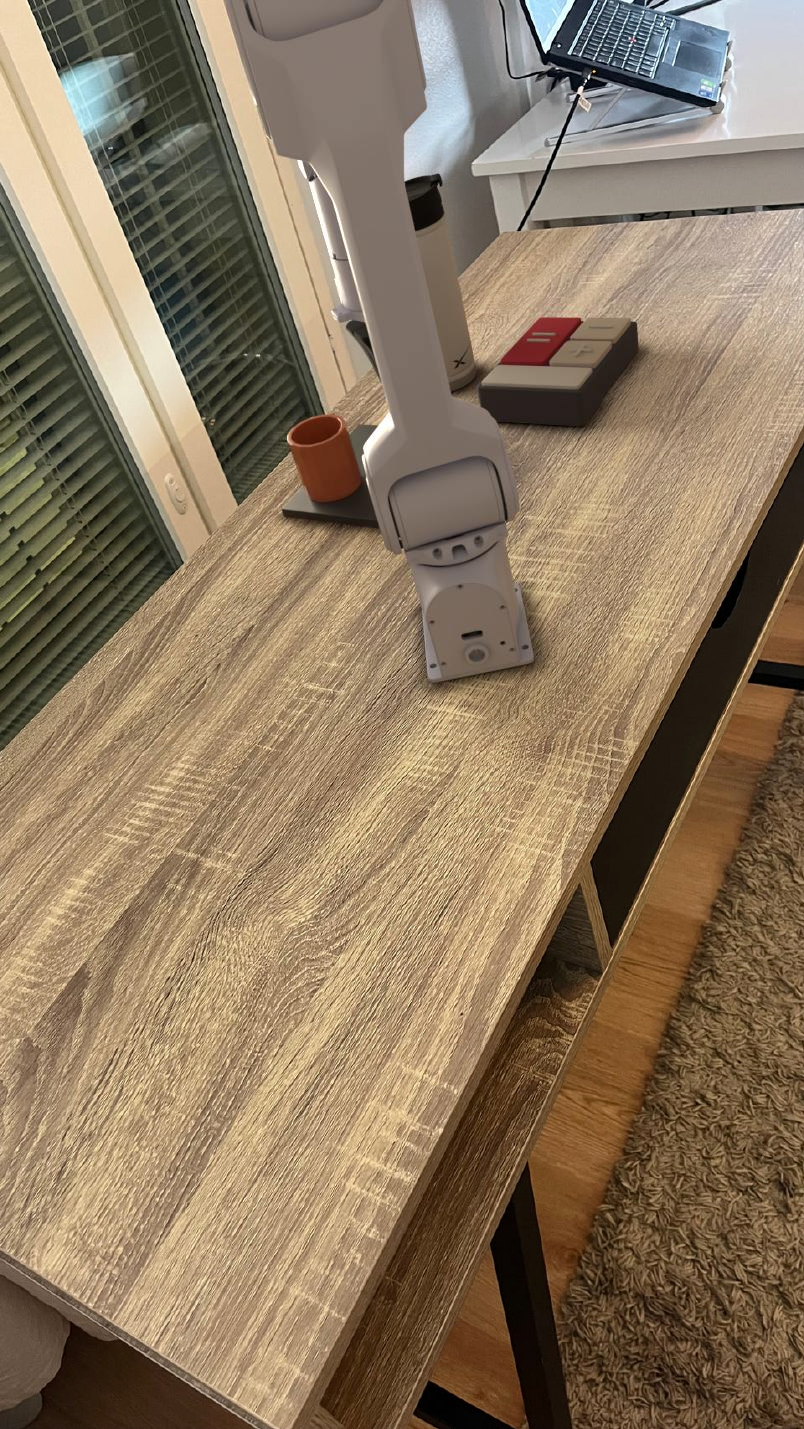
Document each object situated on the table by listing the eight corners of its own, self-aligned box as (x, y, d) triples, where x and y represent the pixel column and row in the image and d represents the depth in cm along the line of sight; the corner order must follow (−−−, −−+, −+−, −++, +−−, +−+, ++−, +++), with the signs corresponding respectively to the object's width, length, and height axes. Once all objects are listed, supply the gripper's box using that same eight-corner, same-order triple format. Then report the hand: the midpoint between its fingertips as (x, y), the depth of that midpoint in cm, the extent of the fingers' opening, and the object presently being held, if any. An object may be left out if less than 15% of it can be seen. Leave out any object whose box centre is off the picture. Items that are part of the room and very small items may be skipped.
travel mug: (481, 386, 111) (441, 187, 98) (419, 399, 112) (371, 204, 99) (479, 359, 116) (440, 164, 102) (419, 371, 117) (373, 181, 103)
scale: (388, 529, 96) (381, 506, 95) (283, 517, 102) (275, 495, 100) (461, 438, 105) (456, 415, 103) (360, 431, 110) (354, 410, 109)
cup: (362, 494, 100) (345, 438, 96) (305, 507, 101) (286, 452, 97) (361, 464, 104) (345, 409, 100) (307, 477, 105) (288, 422, 101)
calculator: (638, 313, 107) (580, 384, 98) (640, 354, 109) (585, 427, 100) (536, 313, 112) (473, 380, 103) (541, 352, 115) (480, 421, 106)
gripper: (289, 242, 95) (332, 382, 104) (352, 286, 85) (393, 437, 94) (360, 213, 96) (396, 353, 105) (430, 253, 86) (463, 405, 95)
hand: (399, 391), depth 100 cm, fingers closed
